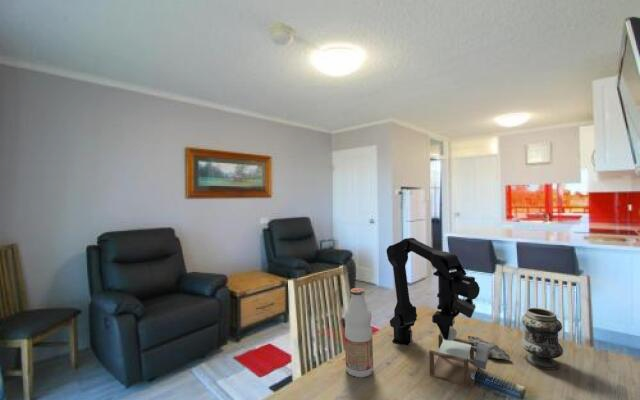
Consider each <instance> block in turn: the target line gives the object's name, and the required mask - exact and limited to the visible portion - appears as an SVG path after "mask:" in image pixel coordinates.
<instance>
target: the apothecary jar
mask: <svg viewBox="0 0 640 400" xmlns="http://www.w3.org/2000/svg"><path fill="white" fill-rule="evenodd" d="M520 319H521V323H522V325H523V326H524V327H525V328H524V329H525V330H524V331H525V333H524V336H523V337H522V338H521V341H520V344H521V346H522V348H523V349H524V350H525V351H526V352H528V353H529V354H526V355H525V357H524V360H525V361H526V362H527V363H528V364H529V365H531V366H534V367H535V368H539V369H544V370H547V371H548V370H550V371H553V370H558V369H560V363H559V362H558V361H557V360H555V359H558V358H560V357H561V356H563V353H564V349H563V346H562V345H561V343H559V332H561V331H562V330H563V324H562V322H561V321H560V320H559V319H558V318H557V314H556V313H555V312H554V311H552V310H550V309H545V308H542V307H541V308H540V307H528V308H526V313H525V314H523V315H522V316H521V318H520Z"/></svg>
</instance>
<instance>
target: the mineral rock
mask: <svg viewBox="0 0 640 400" xmlns="http://www.w3.org/2000/svg"><path fill="white" fill-rule="evenodd" d="M467 340H468V341H474V346H475V347H477V346H478V344H479V345H484V346H488V347H489V355H488V359H489V358H493V359H497V360H498V359H502V360H507V361H509V360H511V356H509V354H508V353H507V352H506V351H505V350H504V349H502V348H500V347H499V346H498V344H495V343H492V342H488V341H485V340H484V339H482V338H480V337H477V336H471V335H468V336H467ZM469 345H470V344H469ZM474 351H476V349H474Z"/></svg>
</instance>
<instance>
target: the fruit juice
mask: <svg viewBox="0 0 640 400" xmlns="http://www.w3.org/2000/svg"><path fill="white" fill-rule="evenodd" d="M365 294H366V290H365V289H364V288H361V287H354V288H351V289H350V296H351V297H350V300H349V305H348V307H347V308H346V309H345V312H344V319H345V322H346V325H345V328H344V344H345V345H344V349H345V350H344V352H345V370H346V372H347V374H349V376H352V377H354V376H355V378H365V377H369V376H370V375H372V373H373V371H374V351H373V350H374V349H373V346H374V345H373V342H374V341H373V328H372V325H371V322H372V311H371V310H370V308H369V306H368V303H367V301H366V298H365Z"/></svg>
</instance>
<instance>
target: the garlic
mask: <svg viewBox="0 0 640 400" xmlns="http://www.w3.org/2000/svg"><path fill="white" fill-rule="evenodd" d="M439 334H440V335H441V336H442V338H443V340H445V339H444V337H443V335H442V333H441V331H440V330H439ZM457 334H458V333H457V330H456V329H455V328H454V326H453V327H452V326H450V331H449V336H448V340H447V341H453V340H454V339H455V338H457Z"/></svg>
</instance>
